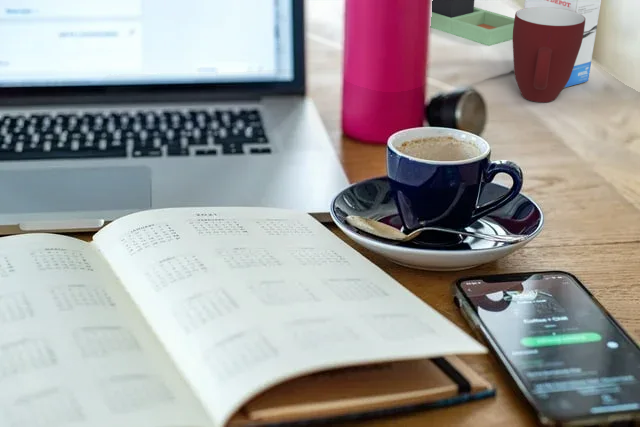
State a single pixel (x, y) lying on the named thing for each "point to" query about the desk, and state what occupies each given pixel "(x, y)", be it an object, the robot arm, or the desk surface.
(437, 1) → the black block
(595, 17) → the ink box
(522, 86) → the mug
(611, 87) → the desk surface
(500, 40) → the holder
